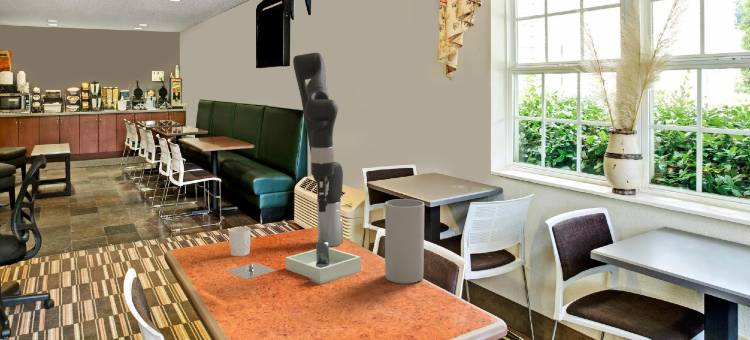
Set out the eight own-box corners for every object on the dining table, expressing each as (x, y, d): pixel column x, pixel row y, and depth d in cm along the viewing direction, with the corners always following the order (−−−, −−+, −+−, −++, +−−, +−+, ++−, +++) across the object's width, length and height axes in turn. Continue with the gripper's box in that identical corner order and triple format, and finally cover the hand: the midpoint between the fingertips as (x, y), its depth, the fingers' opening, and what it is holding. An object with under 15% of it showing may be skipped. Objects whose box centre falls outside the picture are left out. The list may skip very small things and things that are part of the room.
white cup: (225, 257, 198) (224, 231, 196) (238, 251, 205) (237, 226, 203) (242, 260, 194) (241, 233, 193) (255, 254, 202) (254, 228, 200)
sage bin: (325, 259, 195) (325, 246, 194) (361, 271, 182) (360, 256, 182) (285, 271, 182) (285, 257, 181) (320, 284, 169) (320, 269, 169)
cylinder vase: (412, 287, 167) (412, 208, 164) (377, 280, 174) (377, 204, 170) (429, 275, 178) (431, 201, 174) (396, 269, 184) (397, 197, 181)
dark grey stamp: (317, 266, 184) (316, 240, 183) (329, 266, 184) (329, 240, 183) (315, 270, 180) (315, 243, 179) (328, 270, 180) (328, 243, 179)
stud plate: (256, 265, 188) (256, 256, 188) (276, 273, 180) (276, 264, 180) (225, 273, 180) (225, 264, 179) (245, 282, 172) (245, 272, 171)
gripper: (312, 158, 184) (313, 204, 186) (308, 163, 169) (310, 213, 172) (334, 157, 184) (335, 204, 186) (332, 163, 170) (333, 213, 172)
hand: (323, 208), depth 179 cm, fingers open, 8 cm apart
